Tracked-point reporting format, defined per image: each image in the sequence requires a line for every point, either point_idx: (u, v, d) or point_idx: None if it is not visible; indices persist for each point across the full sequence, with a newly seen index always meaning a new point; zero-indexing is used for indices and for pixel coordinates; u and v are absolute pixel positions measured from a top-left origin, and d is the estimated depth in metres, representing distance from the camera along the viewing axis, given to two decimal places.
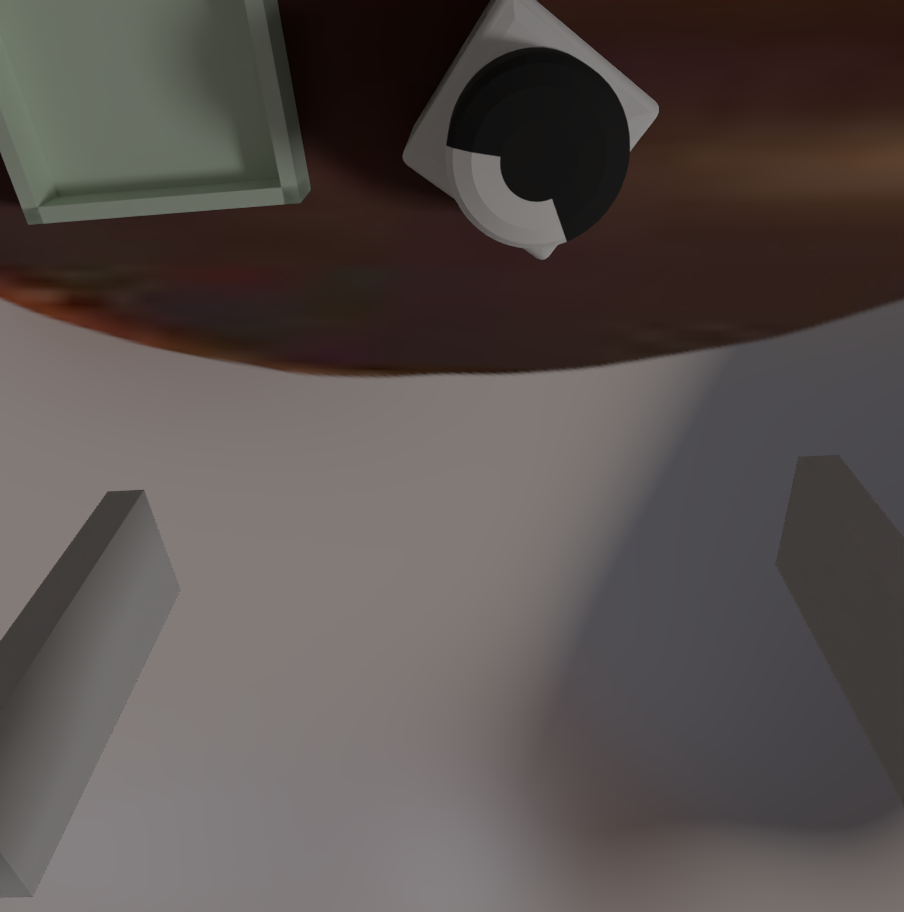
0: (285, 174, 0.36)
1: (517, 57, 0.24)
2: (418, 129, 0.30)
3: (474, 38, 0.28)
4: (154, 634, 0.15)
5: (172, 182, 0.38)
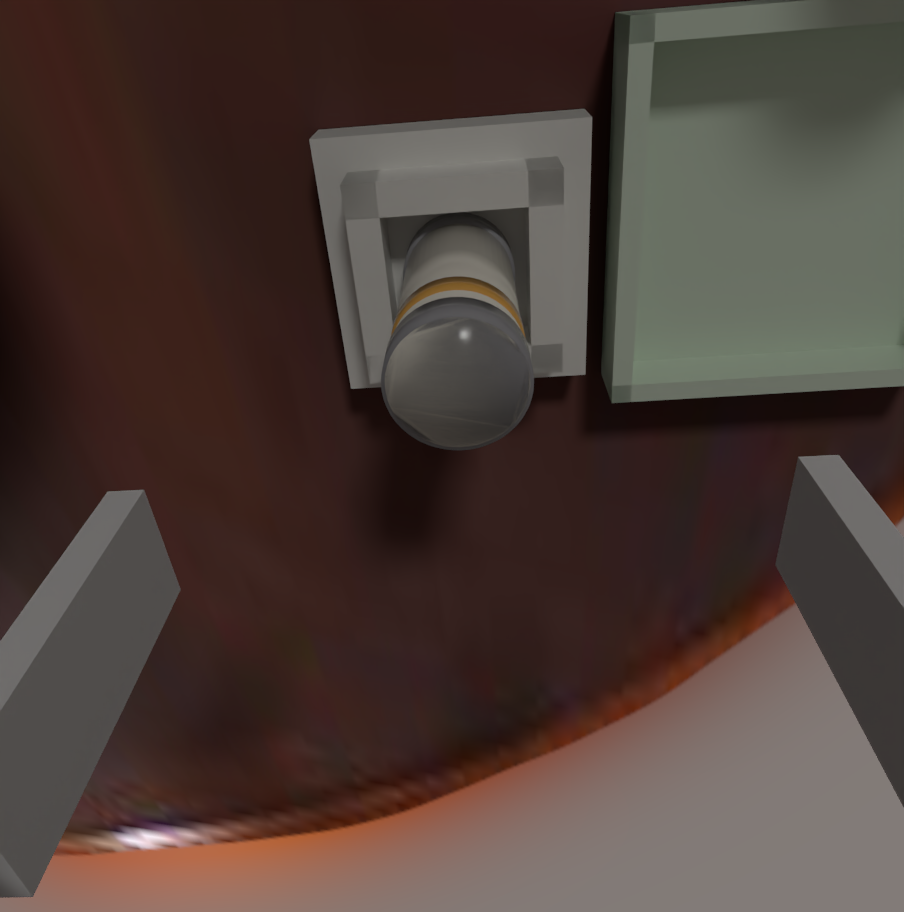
0: None
1: None
2: None
3: None
4: (154, 634, 0.15)
5: None
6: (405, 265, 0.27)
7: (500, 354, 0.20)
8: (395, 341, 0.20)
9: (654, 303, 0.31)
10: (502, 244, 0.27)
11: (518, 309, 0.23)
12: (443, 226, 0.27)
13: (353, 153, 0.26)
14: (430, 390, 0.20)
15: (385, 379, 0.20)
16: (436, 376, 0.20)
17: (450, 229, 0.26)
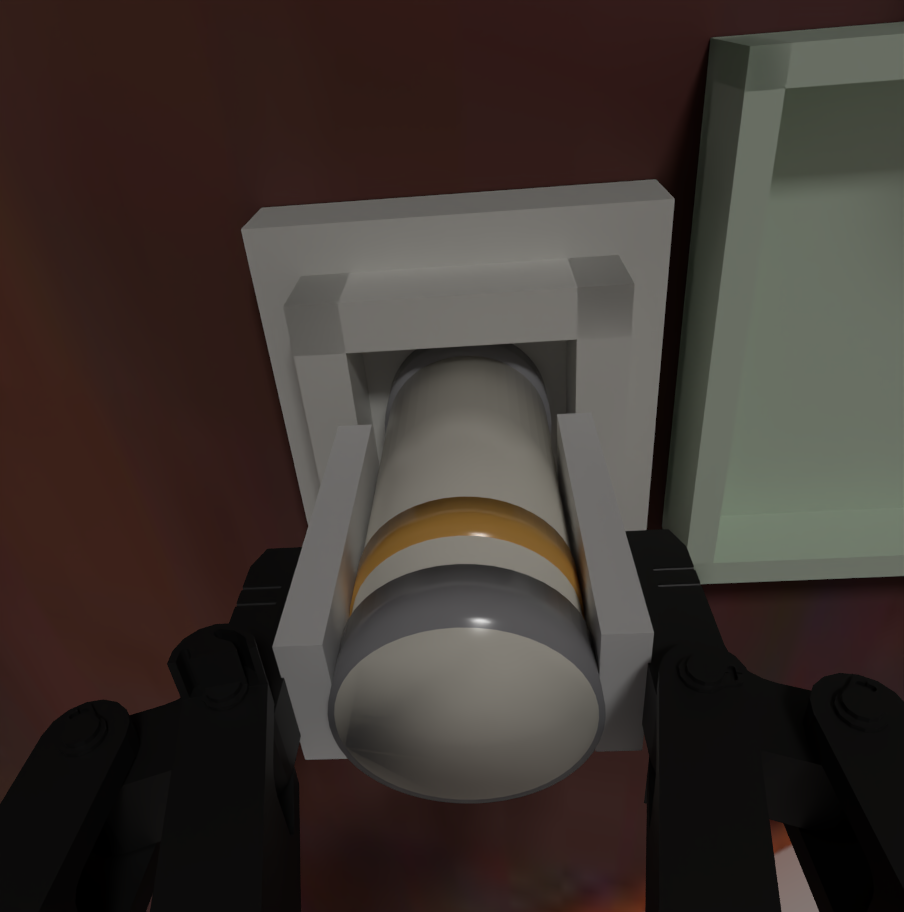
0: None
1: None
2: None
3: None
4: None
5: None
6: (388, 412, 0.18)
7: (546, 680, 0.11)
8: (351, 658, 0.11)
9: (744, 444, 0.22)
10: (533, 384, 0.18)
11: (565, 526, 0.14)
12: (445, 359, 0.18)
13: (308, 249, 0.17)
14: (418, 727, 0.11)
15: (335, 711, 0.11)
16: (428, 709, 0.11)
17: (455, 367, 0.17)
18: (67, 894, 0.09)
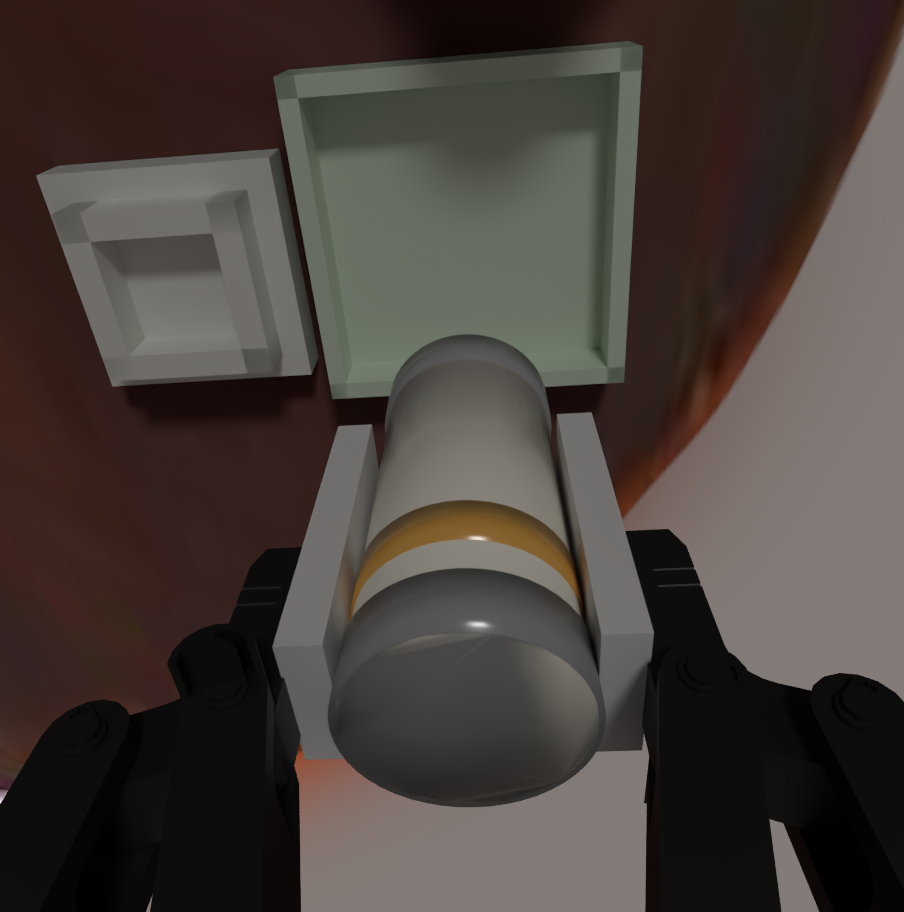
0: (604, 63, 0.28)
1: None
2: None
3: None
4: None
5: (599, 221, 0.33)
6: (388, 414, 0.18)
7: (546, 685, 0.11)
8: (351, 662, 0.11)
9: (368, 313, 0.36)
10: (533, 387, 0.18)
11: (566, 529, 0.14)
12: (445, 361, 0.18)
13: (75, 187, 0.31)
14: (417, 732, 0.11)
15: (335, 715, 0.11)
16: (428, 713, 0.11)
17: (455, 369, 0.17)
18: (68, 895, 0.09)
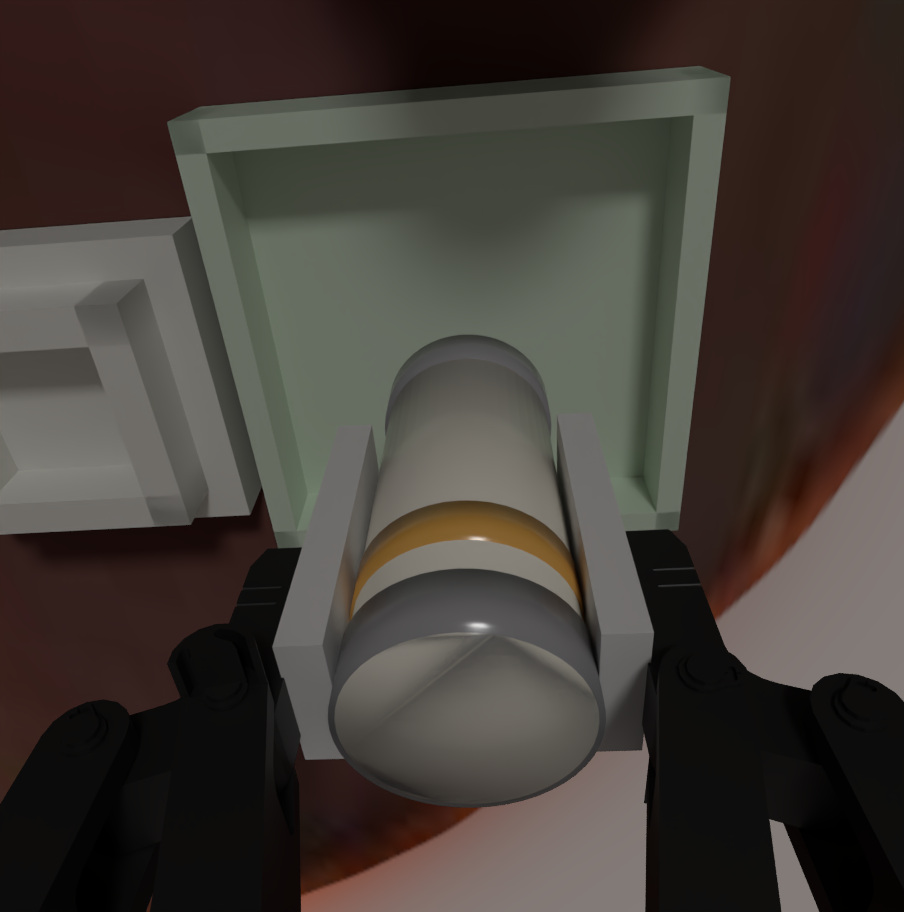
0: (671, 102, 0.18)
1: None
2: None
3: None
4: None
5: (648, 316, 0.23)
6: (388, 414, 0.18)
7: (546, 685, 0.11)
8: (352, 663, 0.11)
9: (328, 432, 0.26)
10: (533, 387, 0.18)
11: (566, 529, 0.14)
12: (445, 362, 0.18)
13: None
14: (418, 732, 0.11)
15: (336, 715, 0.11)
16: (428, 714, 0.11)
17: (455, 370, 0.17)
18: (68, 894, 0.09)
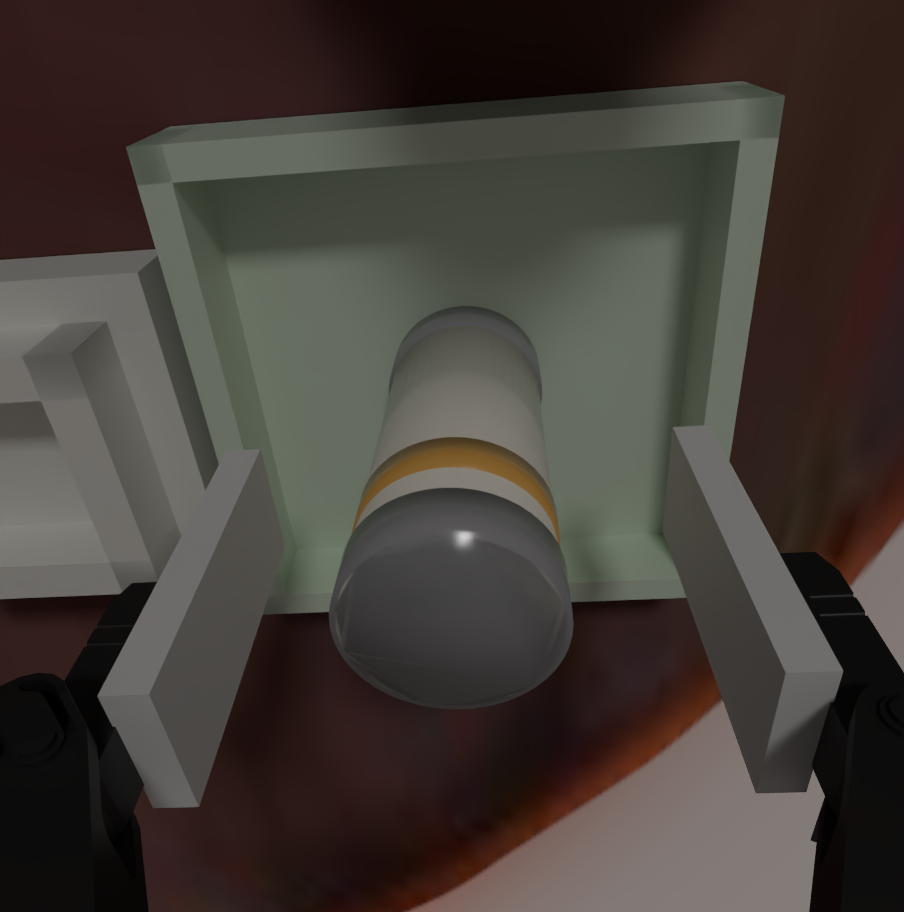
0: (714, 125, 0.15)
1: None
2: None
3: None
4: (269, 584, 0.16)
5: (678, 360, 0.21)
6: (391, 378, 0.20)
7: (519, 588, 0.12)
8: (350, 565, 0.12)
9: (318, 484, 0.23)
10: (525, 353, 0.19)
11: (547, 471, 0.16)
12: (444, 329, 0.19)
13: None
14: (407, 632, 0.13)
15: (336, 616, 0.13)
16: (416, 614, 0.13)
17: (452, 335, 0.19)
18: None
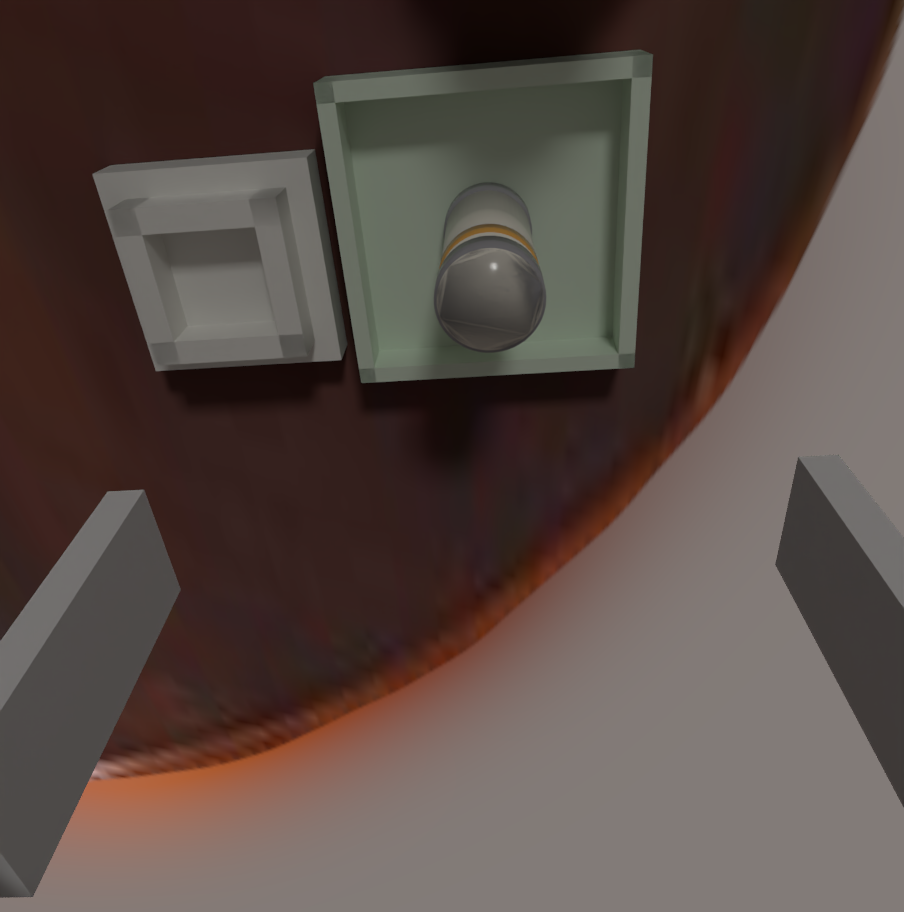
0: (618, 70, 0.30)
1: None
2: None
3: None
4: (154, 634, 0.15)
5: (612, 217, 0.35)
6: (445, 224, 0.35)
7: (521, 276, 0.27)
8: (445, 266, 0.27)
9: (395, 302, 0.38)
10: (522, 207, 0.34)
11: (534, 251, 0.30)
12: (476, 192, 0.34)
13: (128, 184, 0.34)
14: (469, 305, 0.28)
15: (437, 296, 0.27)
16: (474, 293, 0.27)
17: (482, 193, 0.33)
18: None
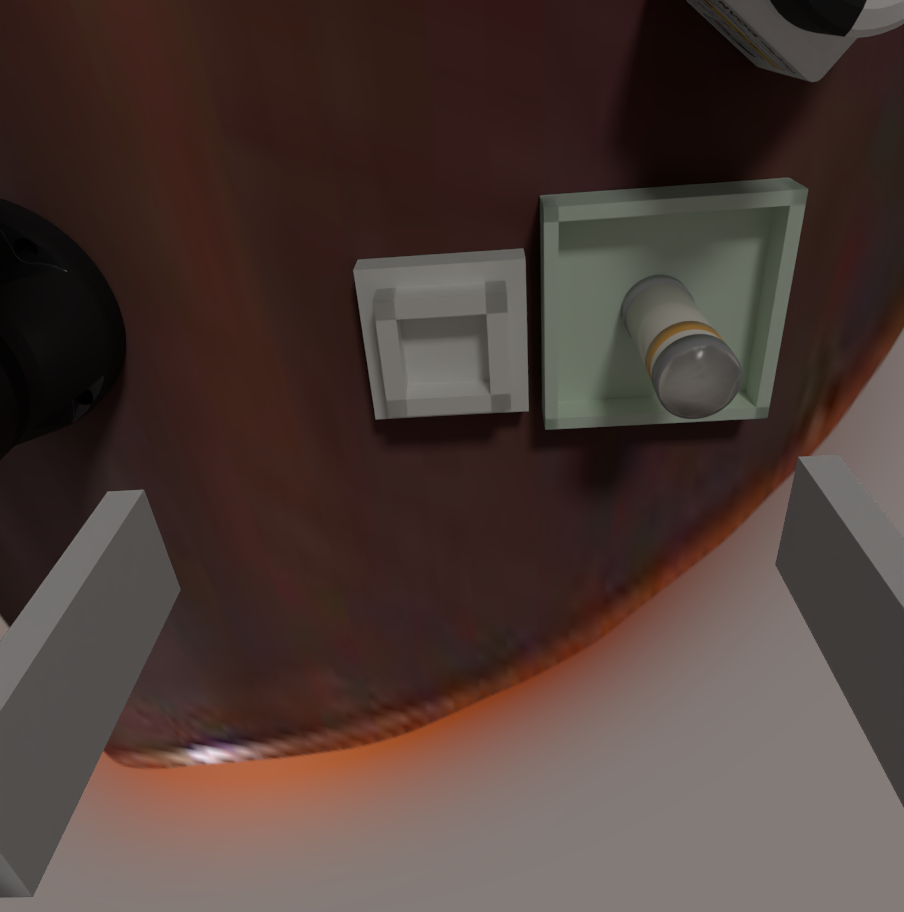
0: (780, 200, 0.39)
1: None
2: (793, 64, 0.32)
3: (729, 2, 0.31)
4: (154, 634, 0.15)
5: (755, 300, 0.45)
6: (627, 308, 0.44)
7: (726, 365, 0.36)
8: (669, 358, 0.36)
9: (573, 365, 0.47)
10: (690, 295, 0.43)
11: None
12: (655, 284, 0.43)
13: (380, 278, 0.43)
14: (683, 385, 0.37)
15: (660, 379, 0.37)
16: (688, 377, 0.36)
17: (661, 287, 0.42)
18: None
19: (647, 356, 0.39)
